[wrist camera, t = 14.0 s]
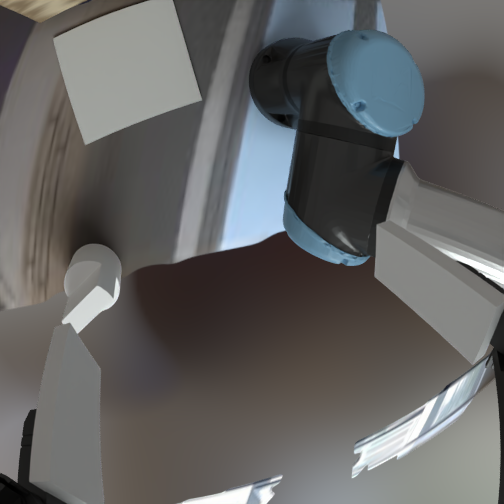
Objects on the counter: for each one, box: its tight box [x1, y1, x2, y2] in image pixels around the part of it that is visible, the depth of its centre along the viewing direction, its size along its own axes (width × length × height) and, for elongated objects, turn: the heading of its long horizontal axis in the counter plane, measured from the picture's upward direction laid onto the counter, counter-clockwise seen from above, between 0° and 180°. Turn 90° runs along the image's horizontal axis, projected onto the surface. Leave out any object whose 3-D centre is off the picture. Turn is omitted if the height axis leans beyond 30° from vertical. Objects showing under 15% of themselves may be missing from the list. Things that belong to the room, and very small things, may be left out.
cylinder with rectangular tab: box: [62, 244, 122, 334], centre depth 43 cm, size 9×9×12 cm
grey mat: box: [53, 0, 202, 145], centre depth 36 cm, size 18×18×1 cm
